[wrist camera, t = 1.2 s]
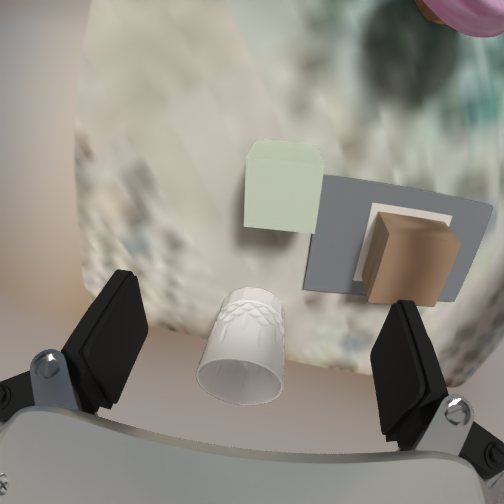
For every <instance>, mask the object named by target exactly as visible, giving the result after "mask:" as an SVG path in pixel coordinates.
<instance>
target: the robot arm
mask: <svg viewBox="0 0 504 504" xmlns="http://www.w3.org/2000/svg"><path fill="white" fill-rule="evenodd" d="M147 334H148V324H147V319H146V315H145V311H144V306H143V302H142V297H141V293H140V288H139V283H138V279H137V277H136V276H134V274H133V272H131V271H126V270H119V269H118V270H116V271H115V272H114V274H113V275H112V277H111V278H110V279H109V281H108V282H107V284H106V285H105V286H104V288H103V289H102V291H101V292H100V294H99V295H98V296H97V298H96V299H95V301H94V302H93V303H92V304H91V306H90V307H89V308H88V310H87V311H86V313H85V314H84V316H83V317H82V319H81V320H80V322H79V324H78V325H77V327H76V328H75V330H74V331H73V333H72V334H71V336H70V337H69V339H68V341H67V342H66V344H65V345H64V347H63V349H62V350H61V352H60V351H58V350H55V349H48V350H44V351H42V352H40V353H39V354H37V355H36V356H35V357H34V359H33V360H32V362H31V365H30V371H27V372H25V373H22V374H19V375H17V376H14V377H12V378H9V379H6V380H4V381H1V382H0V504H504V443H503V442H502V441H501V440H499V439H498V438H496V437H495V436H493V435H492V434H491V433H489V432H488V431H487V430H485V429H484V428H482V427H481V426H480V425H478V424H477V423H476V422H474V421H473V419H474V410H473V407H472V405H471V404H470V402H469V401H468V400H467V399H466V398H464V397H462V396H460V395H454V394H453V395H449V394H448V391H447V388H446V384H445V381H444V378H443V375H442V372H441V369H440V365H439V363H438V360H437V357H436V354H435V351H434V348H433V345H432V342H431V340H430V338H429V337H428V335H427V332H426V330H425V327H424V325H423V322H422V319H421V317H420V314H419V312H418V309H417V307H416V304H415V302H414V301H413V300H398V301H397V302H396V303H393V304H392V306H391V308H390V311H389V313H388V315H387V318H386V320H385V322H384V325H383V327H382V329H381V331H380V333H379V336H378V338H377V340H376V342H375V344H374V346H373V348H372V351H371V355H370V360H371V366H372V372H373V378H374V384H375V390H376V396H377V403H378V410H379V417H380V425H381V431H382V434H383V435H386V442H389V441H397V443H398V447H399V448H398V449H397V451H396V452H381V453H356V454H305V453H286V452H272V451H261V450H251V449H243V448H235V447H227V446H221V445H214V444H208V443H202V442H197V441H192V440H187V439H181V438H177V437H172V436H168V435H164V434H159V433H155V432H151V431H147V430H143V429H140V428H136V427H132V426H129V425H125V424H122V423H118V422H115V421H111V420H108V419H105V418H102V417H98V414H97V411H98V409H99V407H100V406H101V407H103V408H107V409H111V408H112V405H113V403H114V404H116V403H117V402H118V400H119V398H120V396H121V393H122V390H123V388H124V386H125V383H126V381H127V379H128V377H129V374H130V372H131V370H132V367H133V365H134V363H135V361H136V358H137V356H138V354H139V352H140V350H141V347H142V345H143V343H144V341H145V339H146V337H147Z"/></svg>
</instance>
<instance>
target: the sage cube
mask: <svg viewBox="0 0 504 504" xmlns="http://www.w3.org/2000/svg"><path fill="white" fill-rule="evenodd" d="M323 173H324V162H323V159H322V155H321V152H320V149H319V146H318V145H316V144H307V143H298V142H287V141H276V140H264V139H257V140H256V141H255V143H254V145H253V147H252V148H251V150H250V152H249V154H248V155H247V157H246V172H245V203H244V227H253V228H263V229H273V230H283V231H292V232H302V233H311V234H315V229H316V222H317V216H318V209H319V202H320V195H321V188H322V181H323Z"/></svg>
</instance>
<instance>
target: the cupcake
mask: <svg viewBox="0 0 504 504" xmlns="http://www.w3.org/2000/svg"><path fill="white" fill-rule="evenodd" d="M414 1H415V3H416V4H417V7H418V9H419V10H420V11H421V13H422V14H423V16H424V17H425V19H426V20H428V21H431V22H434V23H437V24H444V25H449V26H450V27H452V28H453V29H455V30H457V31H459V32H461V33H463V34H465V35H469V36H472V37H494V36H497V35H500V34H502V33H503V32H504V0H414Z"/></svg>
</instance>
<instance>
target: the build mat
mask: <svg viewBox="0 0 504 504" xmlns="http://www.w3.org/2000/svg"><path fill="white" fill-rule="evenodd" d="M492 210H493V206H492V205H488V204H484V203H480V202H476V201H472V200H467V199H463V198H459V197H454V196H449V195H445V194H440V193H435V192H430V191H425V190H420V189H414V188H409V187H403V186H398V185H392V184H386V183H380V182H373V181H367V180H360V179H353V178H346V177H339V176H331V175H323V181H322V188H321V195H320V202H319V209H318V216H317V222H316V229H315V234H312V240H311V246H310V252H309V258H308V264H307V270H306V276H305V282H304V290H314V291H324V292H335V293H346V294H357V295H366V292H365V288H364V284H363V280H362V276H361V275H362V272H363V269H364V265H365V261H366V258H367V254H368V251H369V247H370V243H371V239H372V235H373V231H374V227H375V223H376V219H377V215H378V211H380V212H387V213H394V214H400V215H407V216H413V217H419V218H425V219H431V220H437V221H443V222H445V223H446V224H447V226H448V227H449V228H450V229H451V231H452V232H453V233H454V235H455V236H456V237H457V239H458V240H459V241H460V243H461V246H460V249H459V251H458V254H457V256H456V259H455V261H454V264H453V266H452V269H451V271H450V273H449V276H448V278H447V280H446V282H445V285H444V287H443V289H442V291H441V293H440V295H439V298H438V300H437V301H451V302H454V301H455V299H456V297H457V295H458V293H459V291H460V289H461V287H462V285H463V282H464V280H465V278H466V276H467V274H468V271H469V269H470V267H471V265H472V262H473V260H474V258H475V255H476V253H477V250H478V248H479V245H480V243H481V240H482V238H483V235H484V232H485V230H486V227H487V224H488V221H489V219H490V216H491V213H492Z"/></svg>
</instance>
